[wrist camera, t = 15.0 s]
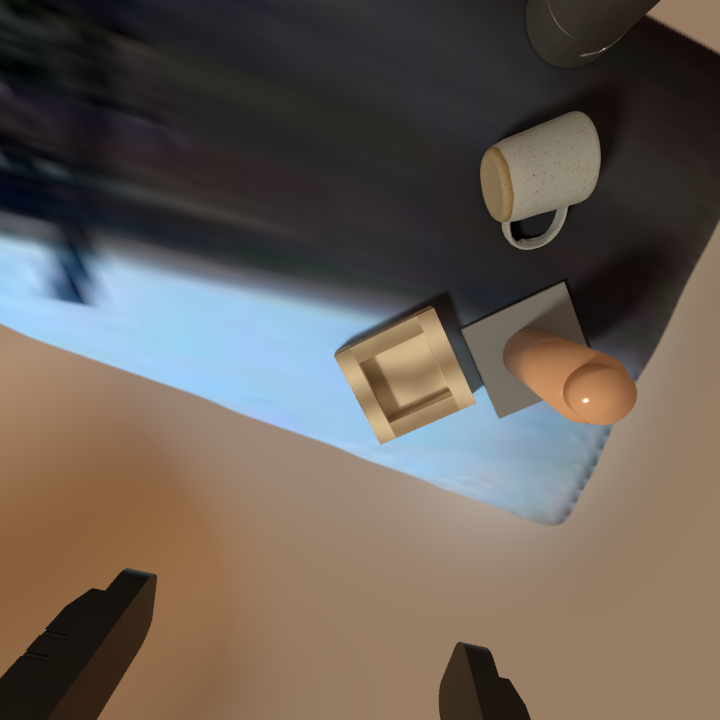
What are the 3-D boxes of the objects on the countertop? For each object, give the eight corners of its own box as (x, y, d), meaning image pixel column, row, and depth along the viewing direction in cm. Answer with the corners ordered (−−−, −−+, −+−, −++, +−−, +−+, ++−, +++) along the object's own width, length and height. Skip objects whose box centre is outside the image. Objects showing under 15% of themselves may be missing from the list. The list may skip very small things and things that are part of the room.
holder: (336, 350, 41) (334, 355, 39) (429, 305, 40) (433, 307, 37) (380, 434, 44) (380, 444, 41) (470, 395, 42) (476, 403, 40)
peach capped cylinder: (495, 372, 41) (553, 425, 27) (512, 322, 39) (582, 352, 26) (555, 385, 41) (642, 444, 27) (574, 336, 39) (676, 373, 26)
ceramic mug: (469, 159, 36) (495, 132, 29) (549, 129, 35) (597, 92, 28) (494, 261, 38) (524, 260, 31) (569, 234, 38) (618, 227, 30)
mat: (460, 329, 40) (461, 329, 40) (561, 281, 39) (564, 281, 38) (497, 416, 43) (499, 418, 42) (594, 375, 41) (597, 376, 41)
